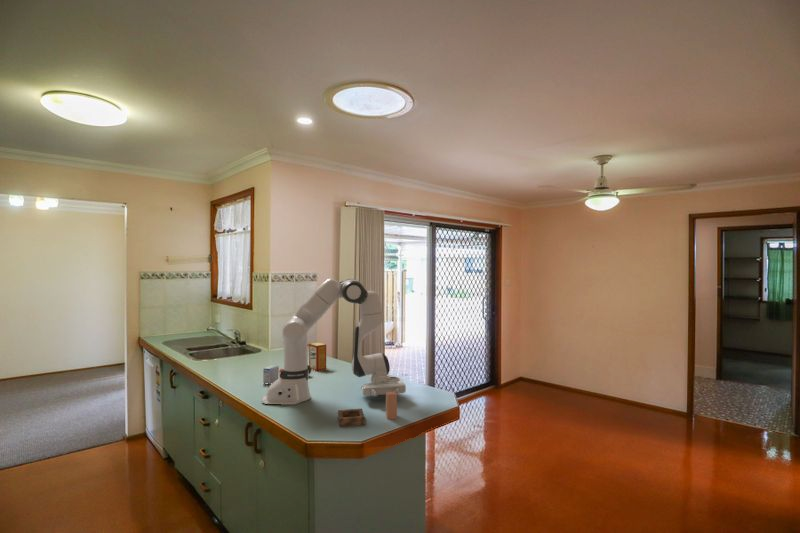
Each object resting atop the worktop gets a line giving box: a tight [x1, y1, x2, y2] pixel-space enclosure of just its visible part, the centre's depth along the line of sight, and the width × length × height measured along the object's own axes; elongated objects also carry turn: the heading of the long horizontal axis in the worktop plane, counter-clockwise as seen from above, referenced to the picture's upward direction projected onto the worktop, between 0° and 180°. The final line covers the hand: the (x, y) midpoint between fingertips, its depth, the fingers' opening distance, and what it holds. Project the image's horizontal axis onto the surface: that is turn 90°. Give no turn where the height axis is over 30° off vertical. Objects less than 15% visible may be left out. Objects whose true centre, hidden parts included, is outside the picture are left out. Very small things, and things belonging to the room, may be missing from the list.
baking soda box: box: [308, 342, 327, 372], centre depth 243 cm, size 10×6×16 cm
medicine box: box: [262, 364, 280, 384], centre depth 213 cm, size 8×4×9 cm, turn 163°
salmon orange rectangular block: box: [385, 391, 398, 420], centre depth 163 cm, size 4×4×10 cm
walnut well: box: [337, 408, 366, 428], centre depth 158 cm, size 10×10×3 cm
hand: (386, 393), depth 175 cm, fingers open, 8 cm apart
